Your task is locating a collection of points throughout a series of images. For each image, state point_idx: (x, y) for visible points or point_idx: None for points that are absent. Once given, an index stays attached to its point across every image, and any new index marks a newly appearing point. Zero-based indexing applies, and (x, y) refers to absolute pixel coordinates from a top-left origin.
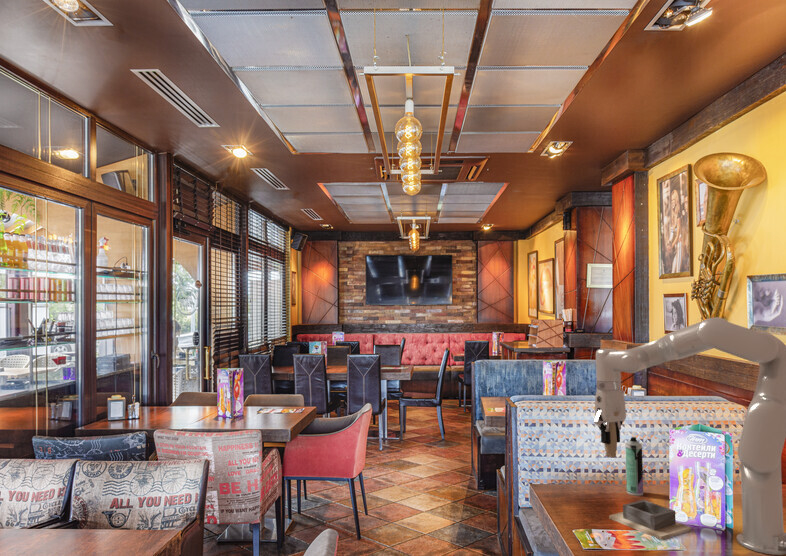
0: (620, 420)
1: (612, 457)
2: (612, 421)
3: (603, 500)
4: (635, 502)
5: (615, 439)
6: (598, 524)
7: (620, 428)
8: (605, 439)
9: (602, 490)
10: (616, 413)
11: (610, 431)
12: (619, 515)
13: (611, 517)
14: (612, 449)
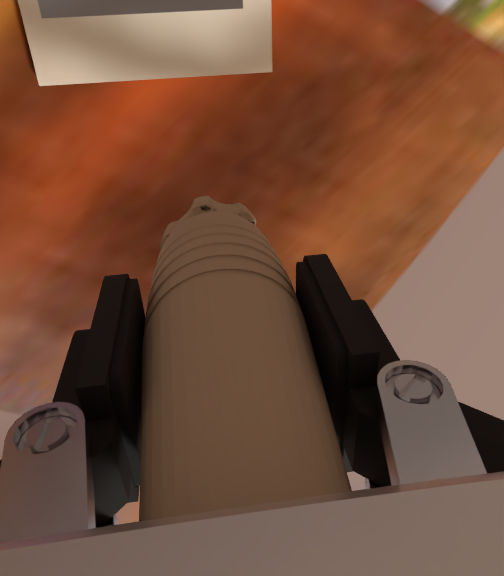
0: (79, 539)
1: (231, 204)
2: (478, 486)
3: (116, 257)
4: (133, 4)
5: (217, 277)
6: (375, 36)
7: (22, 428)
8: (368, 308)
9: (31, 346)
10: None
11: (308, 375)
12: (225, 45)
13: (271, 55)
14: (251, 227)
